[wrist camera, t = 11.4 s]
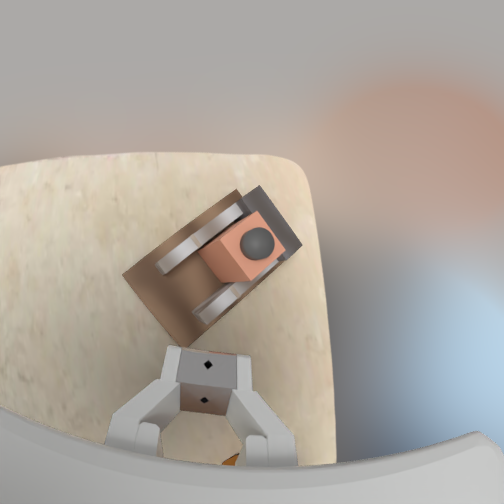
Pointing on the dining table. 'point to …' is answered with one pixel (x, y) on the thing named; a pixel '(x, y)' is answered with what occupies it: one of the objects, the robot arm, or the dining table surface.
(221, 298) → the press housing
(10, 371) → the dining table surface
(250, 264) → the pink block with knob
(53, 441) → the robot arm
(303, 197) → the dining table surface
